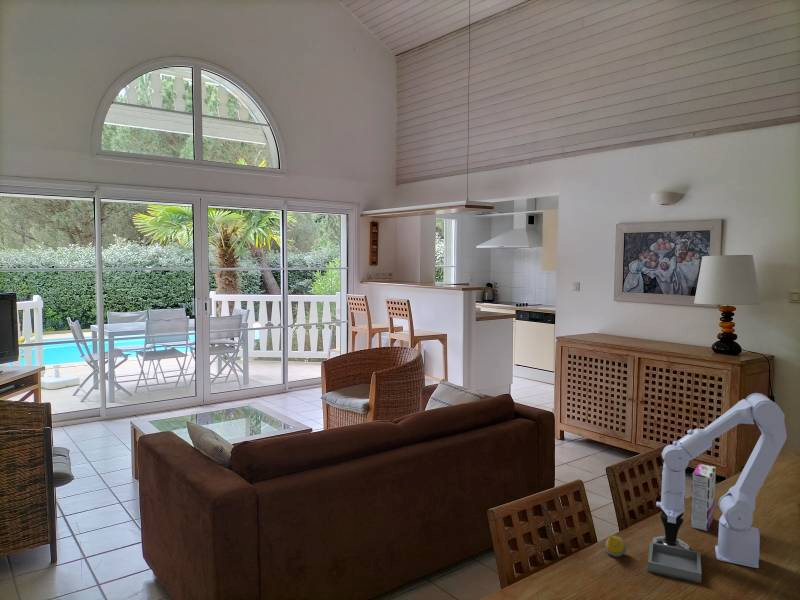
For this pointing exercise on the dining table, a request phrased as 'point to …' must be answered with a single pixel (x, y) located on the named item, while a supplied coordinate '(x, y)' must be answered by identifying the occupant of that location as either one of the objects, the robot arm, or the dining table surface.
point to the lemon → (615, 546)
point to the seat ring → (680, 542)
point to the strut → (670, 543)
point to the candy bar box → (703, 497)
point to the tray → (674, 562)
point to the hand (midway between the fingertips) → (670, 538)
